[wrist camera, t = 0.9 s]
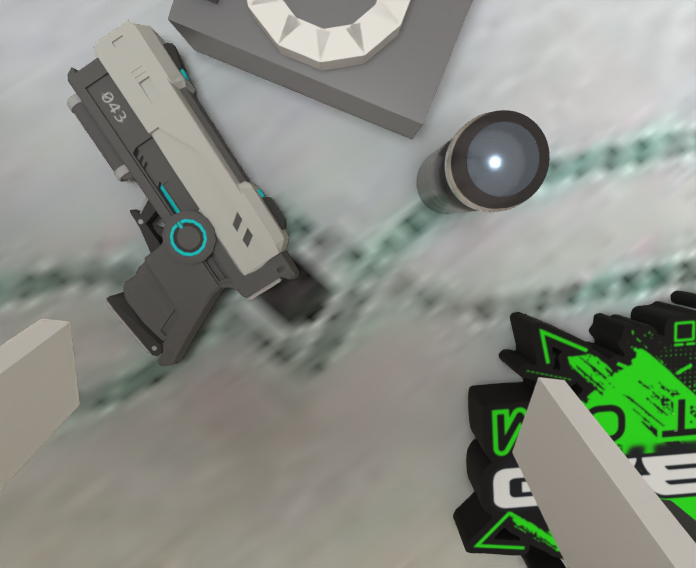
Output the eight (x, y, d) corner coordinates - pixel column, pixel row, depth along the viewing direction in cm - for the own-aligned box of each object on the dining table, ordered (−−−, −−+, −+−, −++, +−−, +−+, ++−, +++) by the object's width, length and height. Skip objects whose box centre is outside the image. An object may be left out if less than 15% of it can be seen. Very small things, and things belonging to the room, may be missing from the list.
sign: (894, 283, 32) (862, 638, 36) (829, 276, 36) (807, 594, 40) (453, 321, 32) (471, 669, 36) (440, 309, 36) (458, 622, 41)
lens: (404, 201, 35) (436, 189, 23) (430, 137, 34) (476, 90, 22) (465, 225, 35) (528, 226, 23) (491, 162, 34) (570, 129, 22)
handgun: (13, 137, 34) (168, 31, 33) (173, 363, 37) (321, 271, 36) (-32, 126, 30) (143, 4, 29) (152, 381, 33) (318, 277, 32)
